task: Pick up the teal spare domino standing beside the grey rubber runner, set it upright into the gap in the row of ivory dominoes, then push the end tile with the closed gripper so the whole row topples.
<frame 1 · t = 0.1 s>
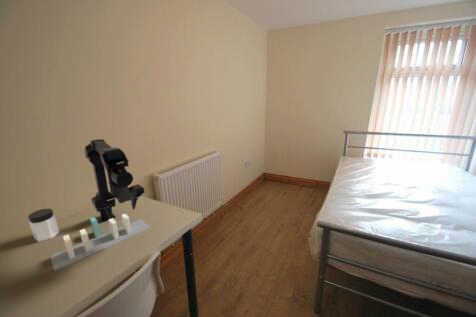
hand: (122, 213, 89), 15 cm above the table, fingers open, 9 cm apart
runner mat: (105, 240, 94), on the table
domino 3: (115, 236, 97), resting on runner mat
spare domino: (97, 234, 98), on the table, touching runner mat
domino 2: (87, 248, 89), resting on runner mat
domino 1: (71, 254, 86), resting on runner mat
jar: (47, 236, 98), on the table
domino 4: (127, 230, 101), resting on runner mat
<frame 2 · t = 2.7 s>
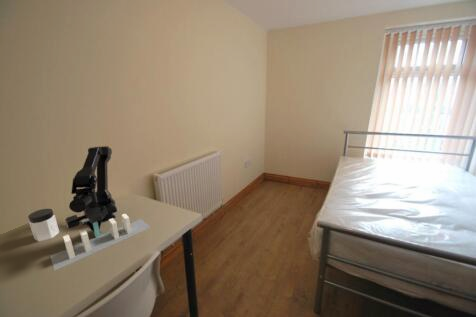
hand: (96, 230, 98), 2 cm above the table, fingers closed on spare domino, 2 cm apart
spare domino: (97, 234, 98), on the table, touching gripper, runner mat
everything else where it was.
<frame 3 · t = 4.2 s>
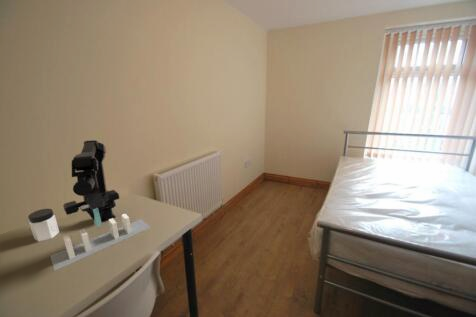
hand: (96, 218, 90), 12 cm above the table, fingers closed on spare domino
spare domino: (97, 223, 91), point 10 cm above the table, touching gripper
everything else where it was.
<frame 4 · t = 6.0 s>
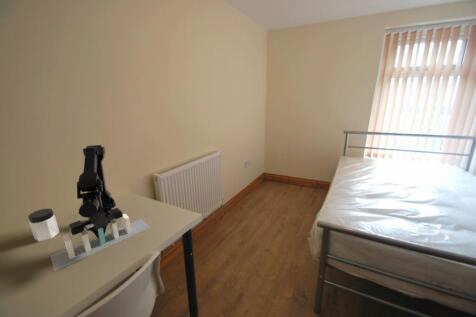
hand: (100, 237, 92), 3 cm above the table, fingers closed on spare domino, 2 cm apart
spare domino: (101, 241, 93), resting on runner mat, touching gripper
everything else where it was.
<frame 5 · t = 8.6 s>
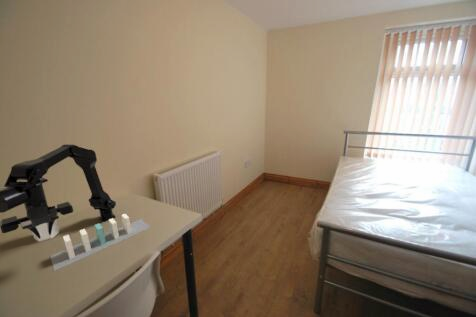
hand: (45, 236, 78), 13 cm above the table, fingers closed
spare domino: (101, 241, 93), resting on runner mat
everything else where it was.
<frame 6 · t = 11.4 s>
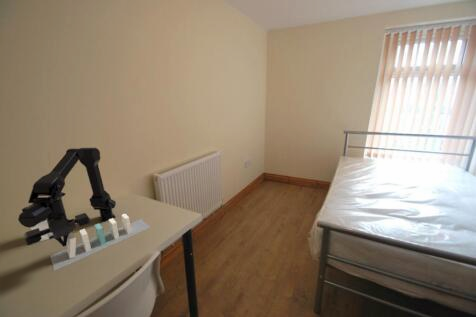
hand: (64, 245, 83), 5 cm above the table, fingers closed
domino 1: (71, 254, 85), resting on runner mat, tilted 11°, touching gripper
everything else where it was.
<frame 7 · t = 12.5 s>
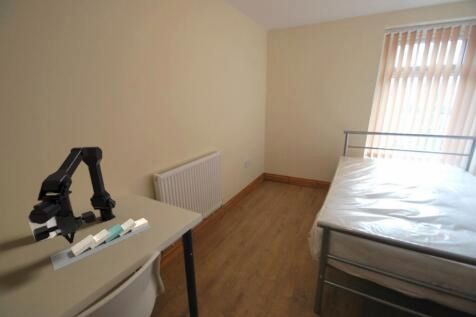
hand: (71, 242, 85), 6 cm above the table, fingers closed
domino 3: (118, 233, 98), point 1 cm above the table, tilted 70°, touching domino 4, runner mat, spare domino
spare domino: (104, 239, 94), point 1 cm above the table, tilted 71°, touching domino 2, domino 3, runner mat
domino 2: (89, 245, 90), point 1 cm above the table, tilted 71°, touching domino 1, runner mat, spare domino
domino 1: (73, 251, 86), point 1 cm above the table, tilted 71°, touching domino 2, runner mat
domino 4: (129, 228, 101), point 1 cm above the table, tilted 90°, touching domino 3, runner mat
everything else where it was.
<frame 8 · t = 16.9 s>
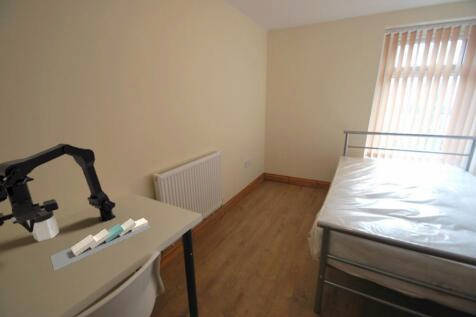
hand: (31, 232, 81), 12 cm above the table, fingers closed
nothing on the table moved.
at the end: domino 4 tilted 90°; spare domino tilted 71°; spare domino inside the target area (0.1 cm from its centre), point 1.2 cm above the table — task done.
